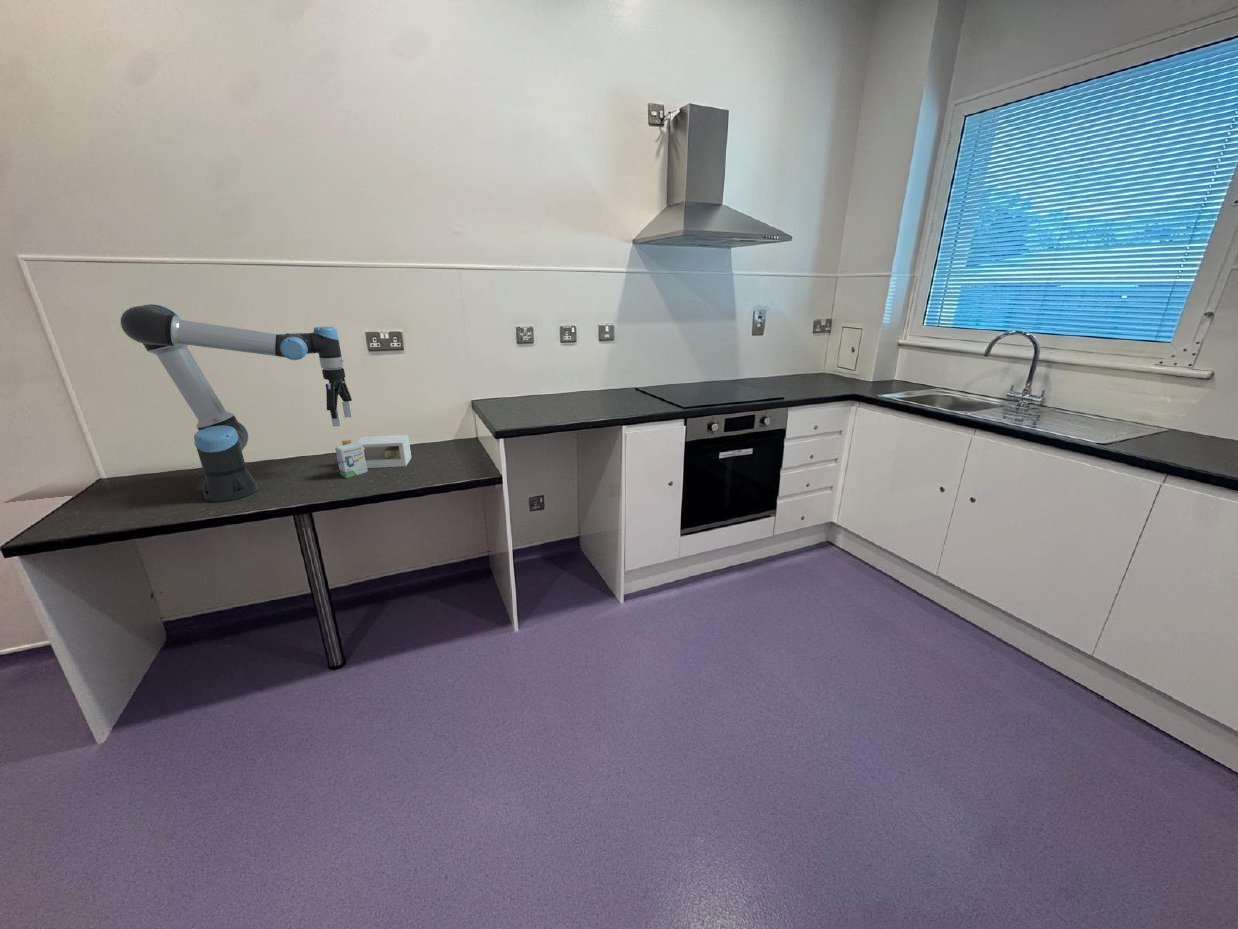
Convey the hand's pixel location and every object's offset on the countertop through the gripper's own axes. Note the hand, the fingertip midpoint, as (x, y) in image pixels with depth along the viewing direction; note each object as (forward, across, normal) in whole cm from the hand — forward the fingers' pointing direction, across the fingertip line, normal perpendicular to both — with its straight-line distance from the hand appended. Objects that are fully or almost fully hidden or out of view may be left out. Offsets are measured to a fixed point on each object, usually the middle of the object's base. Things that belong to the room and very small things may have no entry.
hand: (343, 421), depth 197 cm
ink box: (+19, -11, -4) cm, 22 cm away
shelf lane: (+18, 0, -13) cm, 22 cm away
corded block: (+18, 0, -9) cm, 20 cm away
